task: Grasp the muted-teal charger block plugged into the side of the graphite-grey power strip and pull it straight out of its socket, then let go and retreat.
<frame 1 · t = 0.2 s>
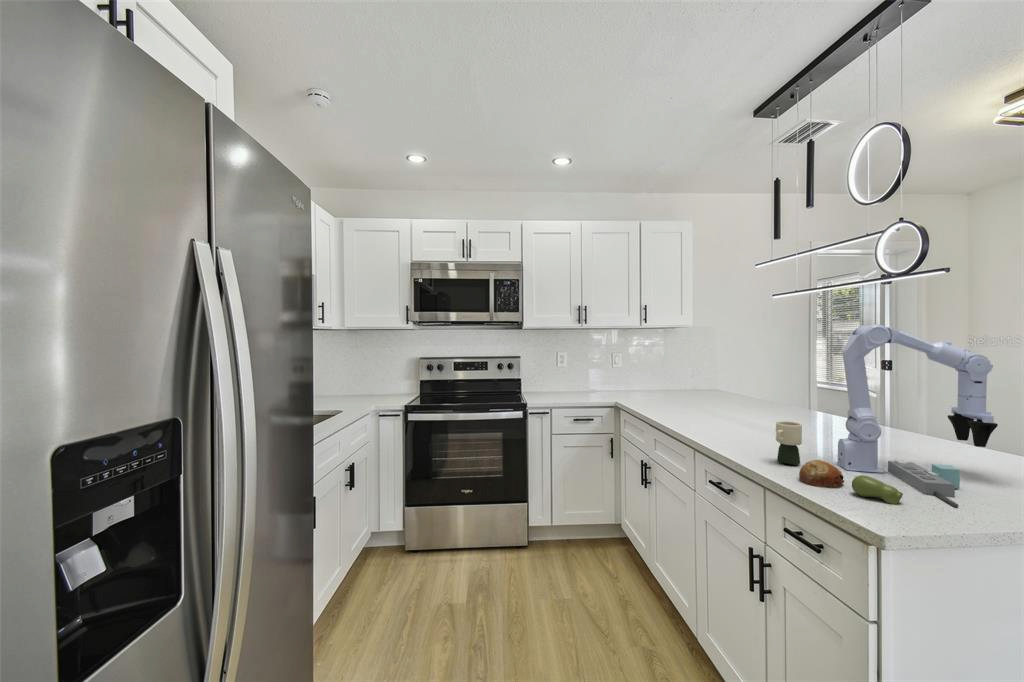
hand: (970, 443, 127), 10 cm above the counter, fingers open, 7 cm apart
power strip: (918, 483, 123), on the counter
bread roll: (821, 483, 124), on the counter
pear: (876, 499, 112), on the counter
character mug: (788, 464, 142), on the counter
charger: (942, 475, 120), point 3 cm above the counter, slide at 0.0 cm
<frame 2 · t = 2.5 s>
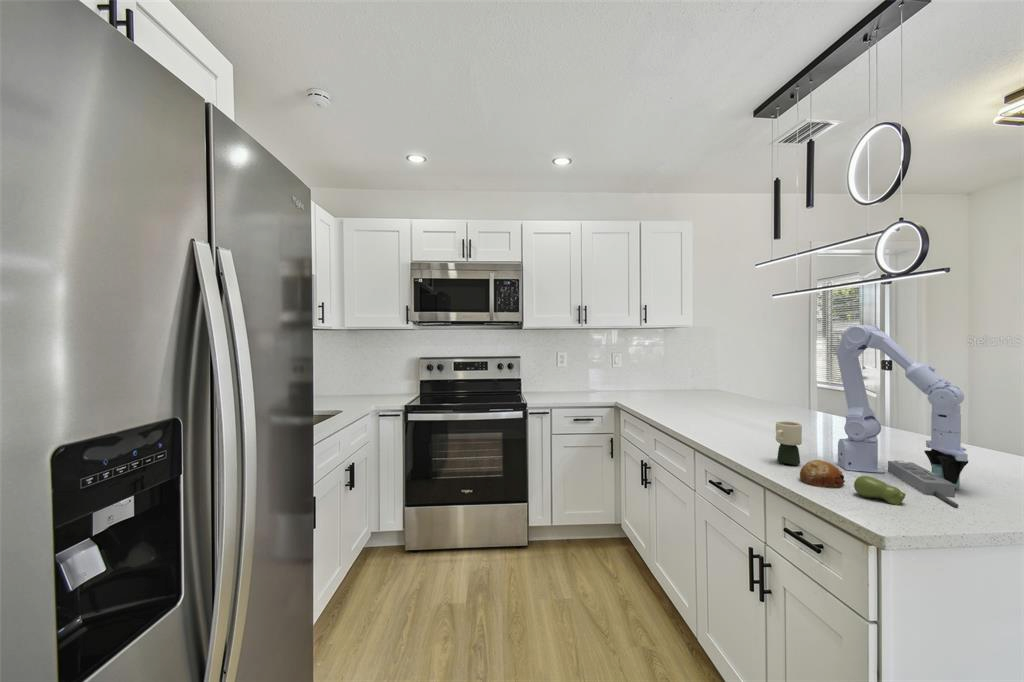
hand: (945, 480, 120), 2 cm above the counter, fingers closed on charger, 4 cm apart
charger: (942, 475, 120), point 3 cm above the counter, slide at 0.0 cm, touching gripper
everything else where it was.
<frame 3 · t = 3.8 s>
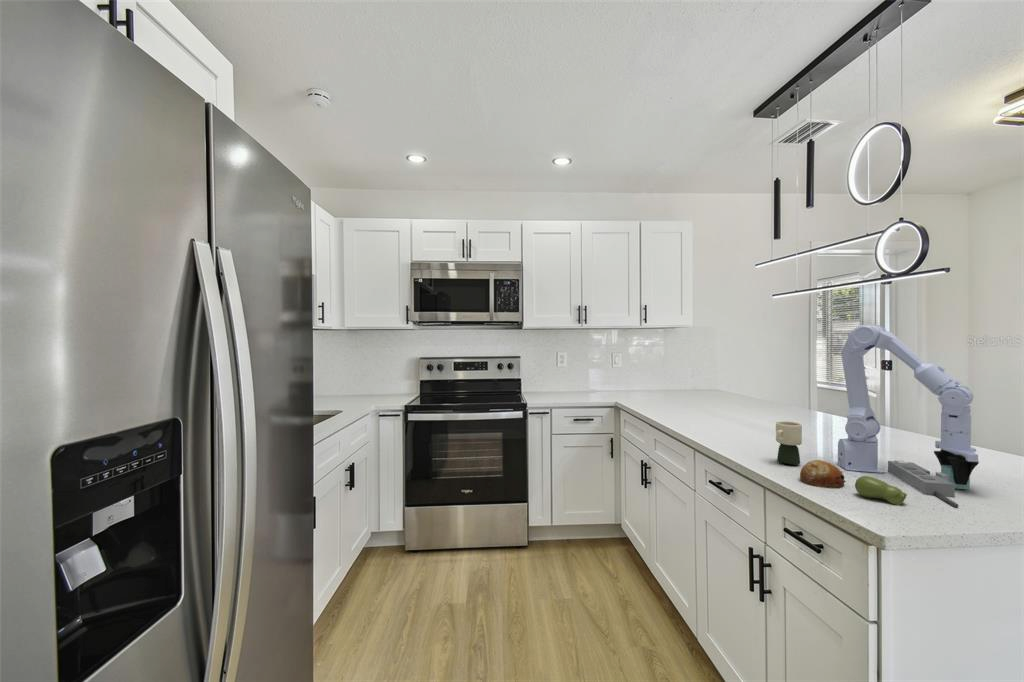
hand: (955, 481, 119), 2 cm above the counter, fingers closed on charger, 4 cm apart
charger: (951, 476, 119), point 3 cm above the counter, slide at 2.1 cm, touching gripper
everything else where it was.
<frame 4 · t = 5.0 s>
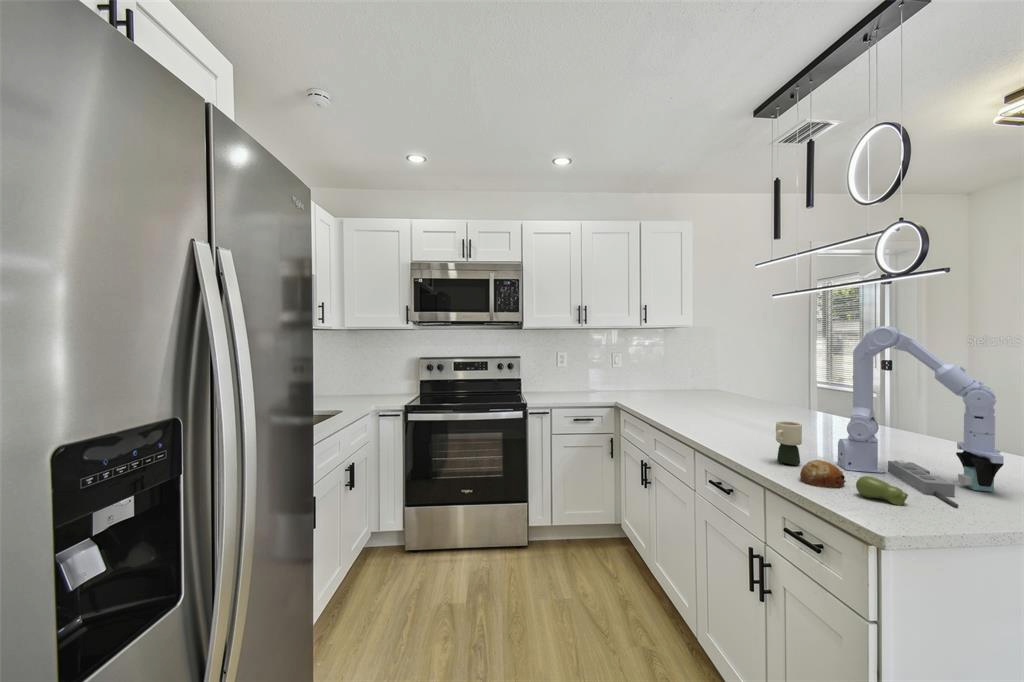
hand: (978, 483, 118), 2 cm above the counter, fingers closed on charger, 4 cm apart
charger: (975, 478, 118), point 3 cm above the counter, slide at 7.0 cm, touching gripper
everything else where it was.
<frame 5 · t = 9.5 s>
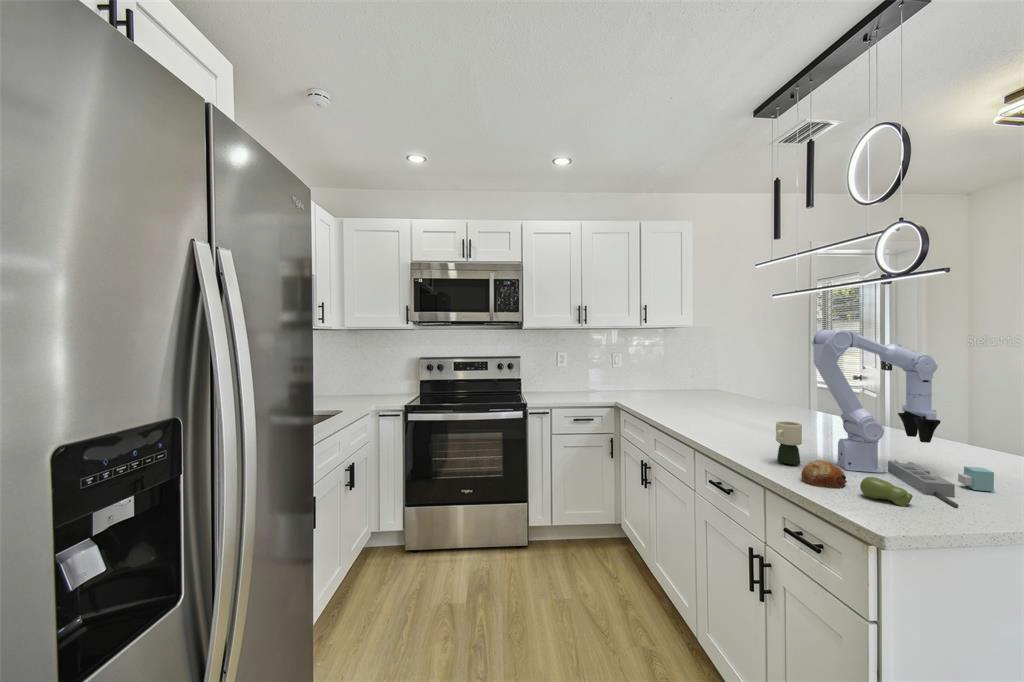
hand: (918, 439, 134), 9 cm above the counter, fingers open, 7 cm apart
charger: (975, 478, 118), point 3 cm above the counter, slide at 7.0 cm
at the end: charger slide at 7.0 cm; the gripper is holding nothing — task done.
